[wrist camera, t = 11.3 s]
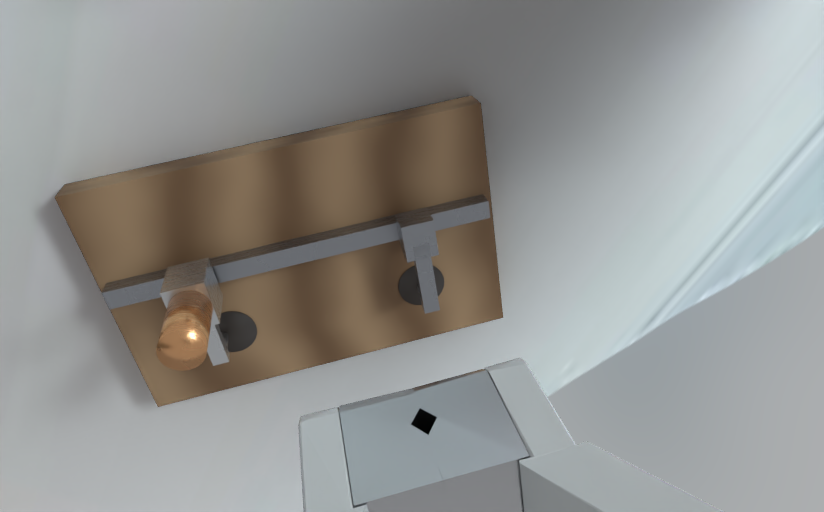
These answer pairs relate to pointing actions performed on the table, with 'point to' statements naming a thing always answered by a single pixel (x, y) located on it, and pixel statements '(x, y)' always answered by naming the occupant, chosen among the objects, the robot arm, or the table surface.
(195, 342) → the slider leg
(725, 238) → the table surface
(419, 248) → the bar
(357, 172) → the brown wooden board
